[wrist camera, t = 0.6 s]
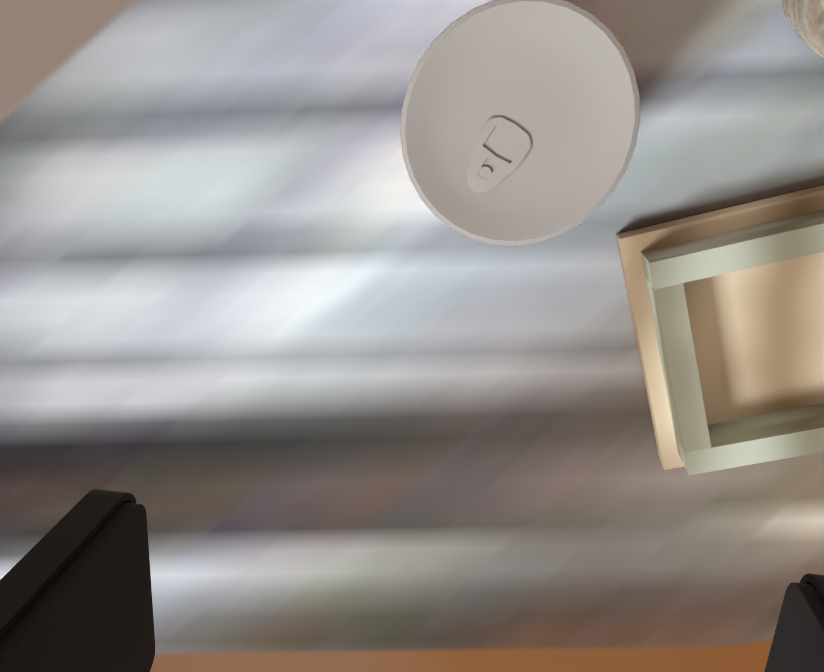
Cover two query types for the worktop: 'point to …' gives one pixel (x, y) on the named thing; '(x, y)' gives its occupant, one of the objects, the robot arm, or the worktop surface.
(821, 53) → the carving
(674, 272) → the beige shallow tray
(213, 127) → the worktop surface
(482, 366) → the worktop surface
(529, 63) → the canned food
